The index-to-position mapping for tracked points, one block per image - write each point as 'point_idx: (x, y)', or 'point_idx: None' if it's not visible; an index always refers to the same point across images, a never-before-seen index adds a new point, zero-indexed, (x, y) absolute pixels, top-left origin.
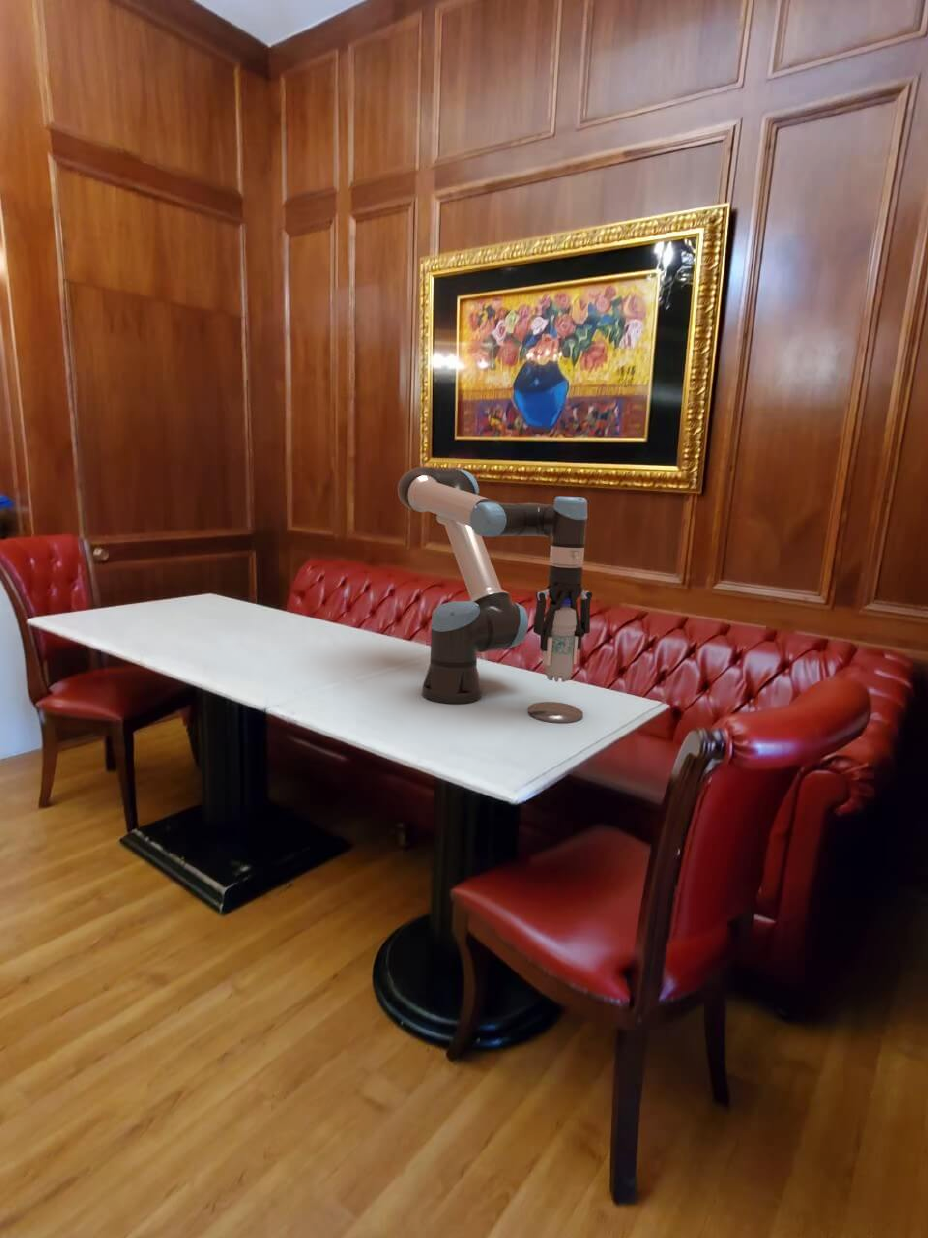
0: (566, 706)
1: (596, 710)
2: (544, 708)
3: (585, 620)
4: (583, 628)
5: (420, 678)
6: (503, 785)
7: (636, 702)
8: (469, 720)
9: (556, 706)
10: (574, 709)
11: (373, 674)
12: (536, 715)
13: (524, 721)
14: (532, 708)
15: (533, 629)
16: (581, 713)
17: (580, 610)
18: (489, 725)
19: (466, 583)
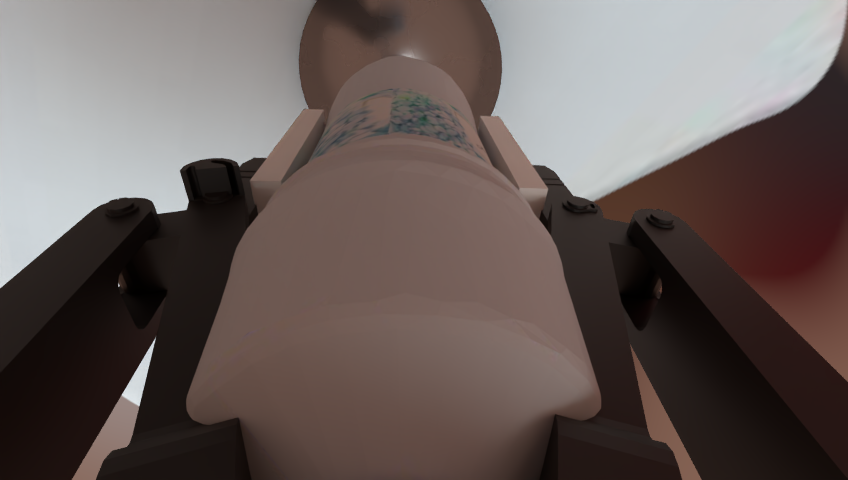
0: (471, 42)
1: (572, 78)
2: (373, 42)
3: (650, 374)
4: (624, 283)
5: None
6: (138, 394)
7: (790, 31)
8: (56, 56)
9: (433, 30)
10: (479, 85)
11: None
12: (311, 108)
13: (264, 117)
14: (325, 27)
15: (86, 216)
16: (477, 130)
17: (759, 385)
18: (133, 123)
19: None
